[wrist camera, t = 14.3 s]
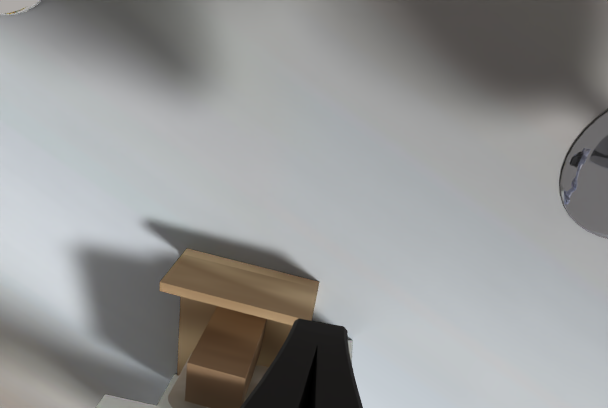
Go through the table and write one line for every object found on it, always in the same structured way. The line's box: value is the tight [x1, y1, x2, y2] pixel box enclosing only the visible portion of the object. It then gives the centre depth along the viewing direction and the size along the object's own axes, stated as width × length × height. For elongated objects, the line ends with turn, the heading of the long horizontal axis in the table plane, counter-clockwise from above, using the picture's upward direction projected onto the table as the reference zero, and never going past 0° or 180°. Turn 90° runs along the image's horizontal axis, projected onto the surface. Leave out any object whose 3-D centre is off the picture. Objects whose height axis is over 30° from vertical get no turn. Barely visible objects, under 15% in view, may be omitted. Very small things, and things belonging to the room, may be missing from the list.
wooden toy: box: [160, 248, 319, 408], centre depth 22 cm, size 10×8×6 cm
